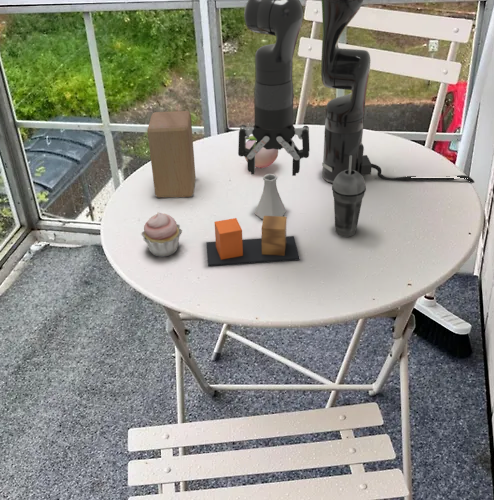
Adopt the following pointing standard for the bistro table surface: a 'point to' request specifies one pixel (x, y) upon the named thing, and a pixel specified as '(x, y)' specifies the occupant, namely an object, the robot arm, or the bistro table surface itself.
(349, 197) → the beverage cup
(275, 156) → the decorative fruit
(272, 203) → the flask
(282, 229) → the oak block
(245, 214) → the bistro table surface
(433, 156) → the bistro table surface
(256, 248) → the mat
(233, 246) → the orange block
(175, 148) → the wooden block
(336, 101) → the robot arm
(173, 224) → the cupcake
